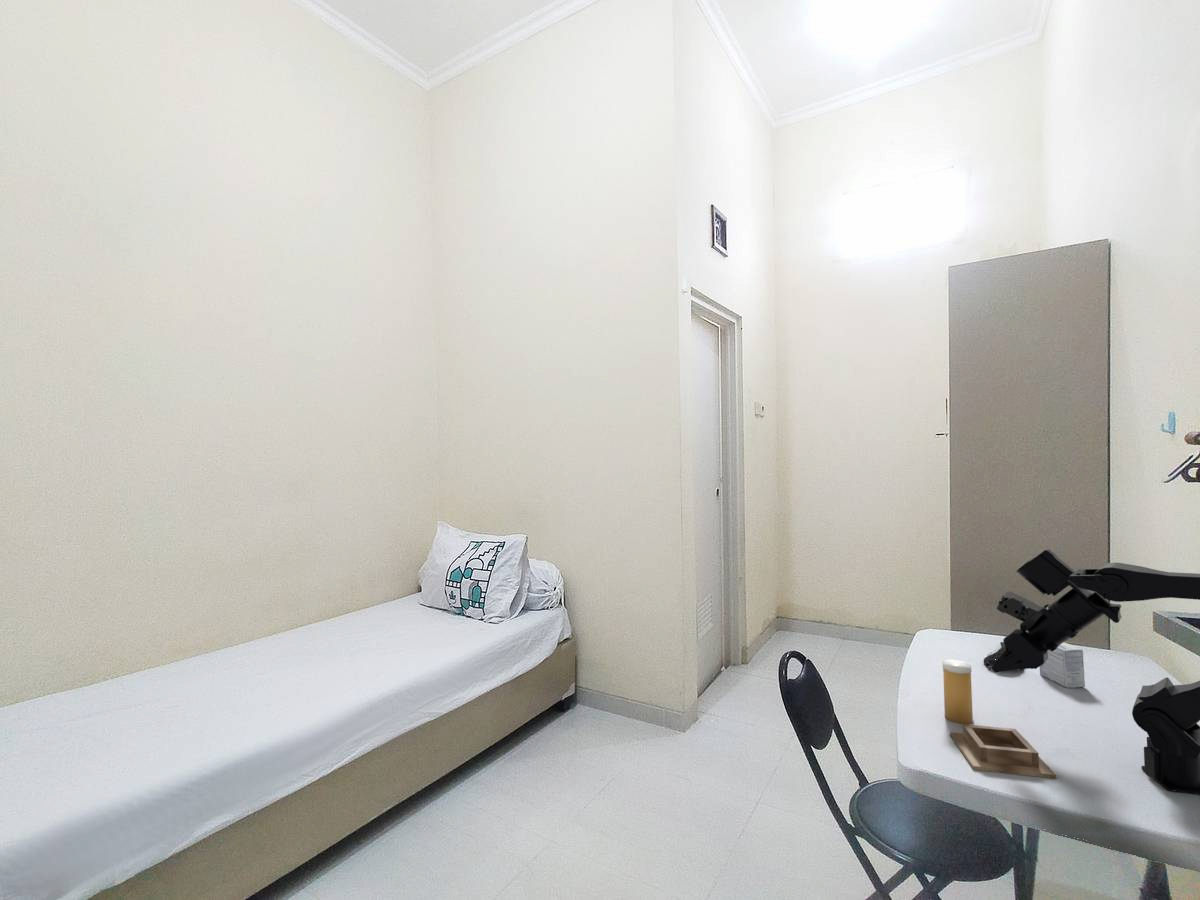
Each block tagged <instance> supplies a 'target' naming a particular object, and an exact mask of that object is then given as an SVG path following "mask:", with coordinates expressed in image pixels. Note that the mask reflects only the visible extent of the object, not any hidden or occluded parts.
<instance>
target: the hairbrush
mask: <svg viewBox="0 0 1200 900" xmlns="http://www.w3.org/2000/svg"><path fill="white" fill-rule="evenodd" d="M999 645H1000V646H1001V647H1000V648H998V649H995V650H994V651H991V652H989V654H987V656H986V657H984V658H983V664H985V665H991V666H992V665H993V664H994V663H995V662H996V661H997V659H998V658H999V657H1000V656H1001V655H1002V653H1003V652H1004V651H1005V644H1004V643H1003V641H1001V642H1000V643H999ZM995 659H996V660H995ZM1024 670H1025V669H1020V671H1024Z"/></svg>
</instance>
